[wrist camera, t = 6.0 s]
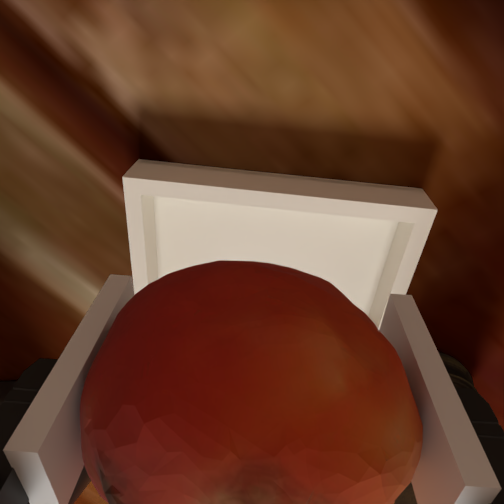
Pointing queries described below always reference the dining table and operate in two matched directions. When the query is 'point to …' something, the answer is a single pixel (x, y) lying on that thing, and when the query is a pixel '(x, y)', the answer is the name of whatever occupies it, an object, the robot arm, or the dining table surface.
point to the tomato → (247, 395)
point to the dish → (277, 226)
